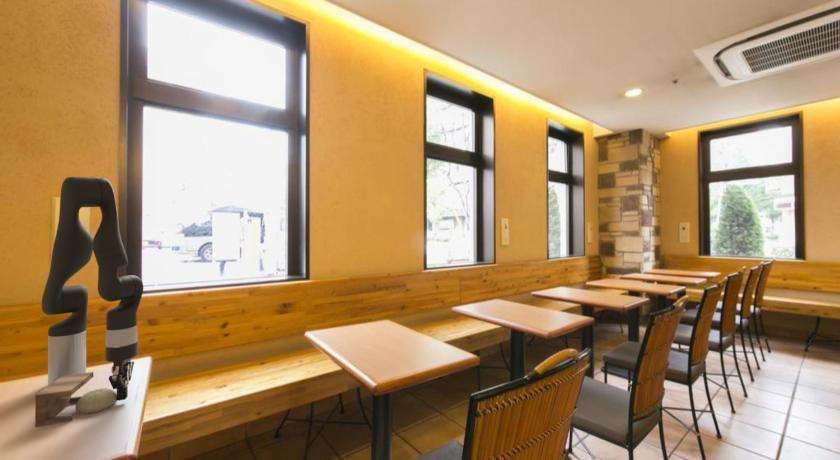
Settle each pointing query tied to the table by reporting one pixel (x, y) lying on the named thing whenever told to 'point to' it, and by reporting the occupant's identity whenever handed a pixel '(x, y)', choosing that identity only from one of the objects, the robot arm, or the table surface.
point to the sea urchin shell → (96, 400)
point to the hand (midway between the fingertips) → (122, 399)
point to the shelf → (58, 398)
